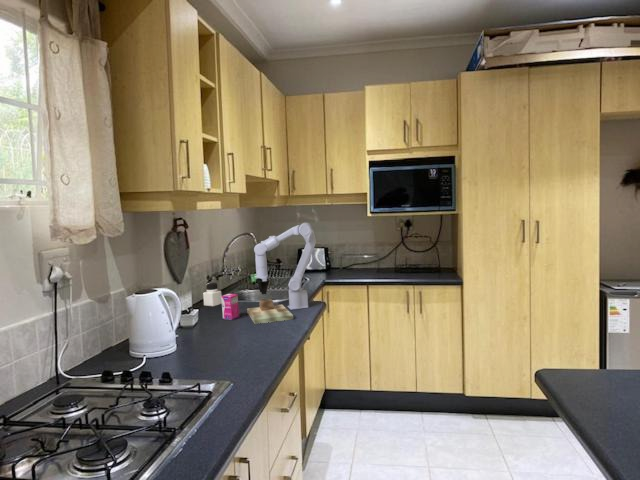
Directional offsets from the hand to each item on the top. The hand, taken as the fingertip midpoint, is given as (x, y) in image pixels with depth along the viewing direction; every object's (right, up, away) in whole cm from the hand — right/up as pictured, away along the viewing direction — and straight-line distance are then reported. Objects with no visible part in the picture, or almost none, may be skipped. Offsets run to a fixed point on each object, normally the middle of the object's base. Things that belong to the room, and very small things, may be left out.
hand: (263, 293), depth 237 cm
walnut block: (+3, -7, -7) cm, 10 cm away
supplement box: (-14, -11, -15) cm, 23 cm away
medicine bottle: (-30, -9, +18) cm, 36 cm away
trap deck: (+5, -9, -14) cm, 17 cm away
